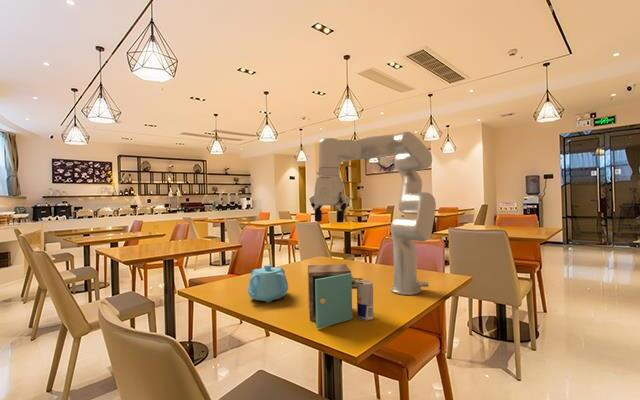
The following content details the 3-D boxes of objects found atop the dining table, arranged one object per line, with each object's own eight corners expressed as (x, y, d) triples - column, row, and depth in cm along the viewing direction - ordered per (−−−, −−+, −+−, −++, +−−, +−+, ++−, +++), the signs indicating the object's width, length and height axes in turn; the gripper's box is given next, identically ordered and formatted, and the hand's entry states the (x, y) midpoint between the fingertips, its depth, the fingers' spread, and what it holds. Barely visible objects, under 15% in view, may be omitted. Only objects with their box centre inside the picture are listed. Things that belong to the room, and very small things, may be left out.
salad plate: (357, 278, 165) (357, 269, 165) (370, 287, 148) (370, 277, 148) (319, 281, 161) (319, 272, 161) (329, 291, 143) (329, 280, 143)
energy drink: (356, 315, 113) (355, 280, 113) (371, 314, 113) (370, 280, 113) (359, 321, 107) (358, 285, 107) (375, 320, 108) (374, 284, 108)
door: (350, 317, 109) (349, 272, 109) (354, 319, 108) (353, 274, 107) (316, 327, 102) (315, 279, 102) (320, 330, 100) (319, 280, 100)
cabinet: (346, 307, 122) (345, 264, 122) (351, 318, 110) (350, 271, 110) (308, 308, 121) (307, 265, 121) (309, 320, 109) (308, 272, 109)
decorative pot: (251, 293, 142) (250, 261, 142) (288, 291, 143) (288, 260, 143) (245, 305, 126) (244, 270, 126) (287, 303, 127) (286, 268, 127)
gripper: (303, 174, 119) (303, 221, 119) (343, 171, 109) (343, 223, 108) (316, 175, 125) (316, 220, 125) (355, 173, 114) (355, 222, 114)
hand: (328, 221), depth 117 cm, fingers open, 9 cm apart
